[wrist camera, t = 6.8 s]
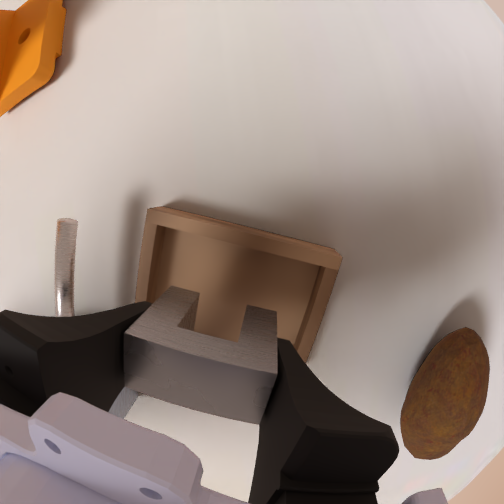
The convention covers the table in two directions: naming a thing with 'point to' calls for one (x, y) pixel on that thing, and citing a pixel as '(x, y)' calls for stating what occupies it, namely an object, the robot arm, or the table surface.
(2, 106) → the bracket
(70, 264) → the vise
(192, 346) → the block
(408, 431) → the potato
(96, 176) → the table surface
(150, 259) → the tray
